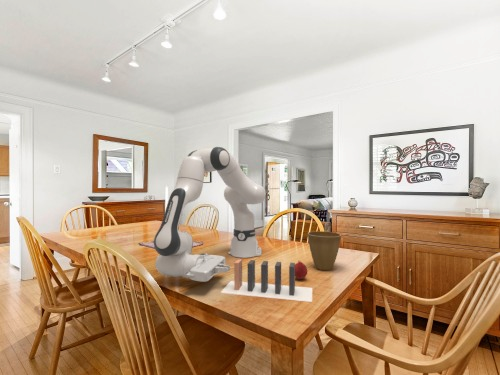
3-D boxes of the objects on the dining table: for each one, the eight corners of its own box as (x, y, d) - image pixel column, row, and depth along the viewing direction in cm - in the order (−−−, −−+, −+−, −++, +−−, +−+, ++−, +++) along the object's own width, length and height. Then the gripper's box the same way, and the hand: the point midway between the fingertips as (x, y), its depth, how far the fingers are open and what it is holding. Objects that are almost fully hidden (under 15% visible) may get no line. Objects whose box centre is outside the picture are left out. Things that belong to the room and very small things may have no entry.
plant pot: (343, 274, 114) (343, 237, 114) (307, 272, 117) (307, 236, 117) (338, 264, 129) (338, 231, 129) (307, 262, 132) (307, 230, 132)
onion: (305, 277, 111) (305, 258, 111) (308, 282, 105) (308, 262, 105) (291, 277, 111) (291, 258, 111) (294, 282, 105) (294, 262, 105)
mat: (230, 281, 107) (230, 280, 107) (312, 288, 99) (312, 287, 99) (220, 293, 95) (220, 292, 95) (312, 302, 87) (312, 301, 87)
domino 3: (276, 288, 99) (276, 261, 99) (281, 288, 98) (281, 261, 98) (275, 293, 94) (274, 265, 94) (279, 294, 94) (279, 266, 93)
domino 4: (290, 289, 98) (290, 262, 97) (294, 290, 97) (294, 262, 97) (289, 295, 93) (289, 266, 93) (293, 295, 92) (293, 267, 92)
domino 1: (250, 286, 101) (250, 259, 101) (255, 286, 101) (254, 260, 101) (247, 291, 96) (247, 263, 96) (251, 291, 96) (251, 264, 96)
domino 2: (263, 287, 100) (263, 260, 100) (267, 287, 100) (267, 261, 99) (261, 292, 95) (261, 264, 95) (265, 292, 95) (265, 265, 95)
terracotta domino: (238, 284, 102) (238, 259, 102) (242, 285, 102) (242, 259, 102) (234, 289, 98) (234, 262, 97) (238, 290, 97) (238, 263, 97)
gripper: (182, 266, 94) (219, 269, 90) (205, 251, 114) (236, 253, 110) (182, 284, 94) (219, 288, 90) (205, 266, 114) (236, 269, 110)
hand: (229, 269), depth 101 cm, fingers closed
